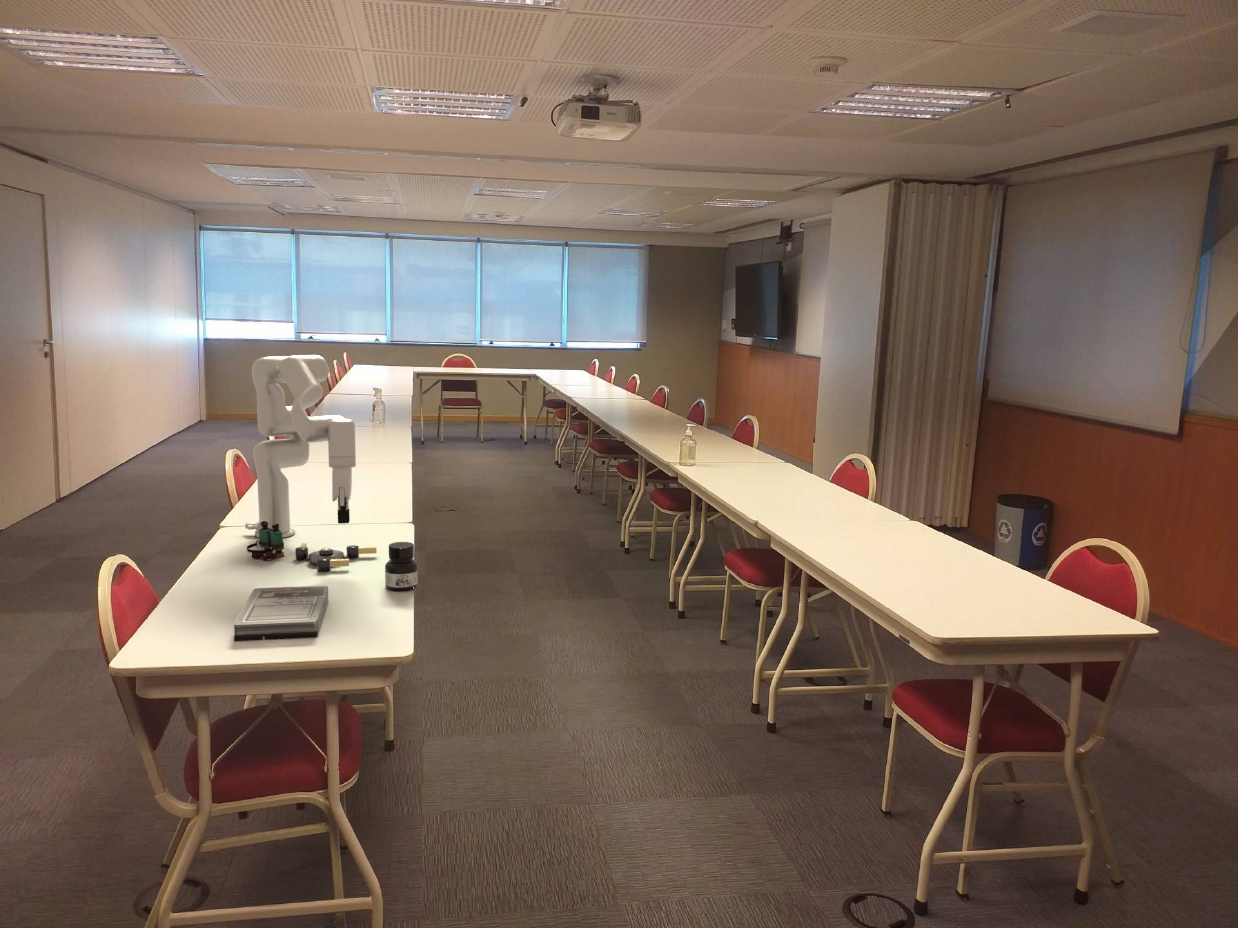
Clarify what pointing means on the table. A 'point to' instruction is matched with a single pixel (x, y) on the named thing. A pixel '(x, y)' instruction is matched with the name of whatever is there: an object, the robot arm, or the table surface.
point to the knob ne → (359, 551)
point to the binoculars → (268, 543)
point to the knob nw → (301, 552)
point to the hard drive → (282, 613)
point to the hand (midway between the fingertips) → (343, 522)
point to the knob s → (330, 563)
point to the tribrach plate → (325, 555)
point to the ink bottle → (401, 567)
